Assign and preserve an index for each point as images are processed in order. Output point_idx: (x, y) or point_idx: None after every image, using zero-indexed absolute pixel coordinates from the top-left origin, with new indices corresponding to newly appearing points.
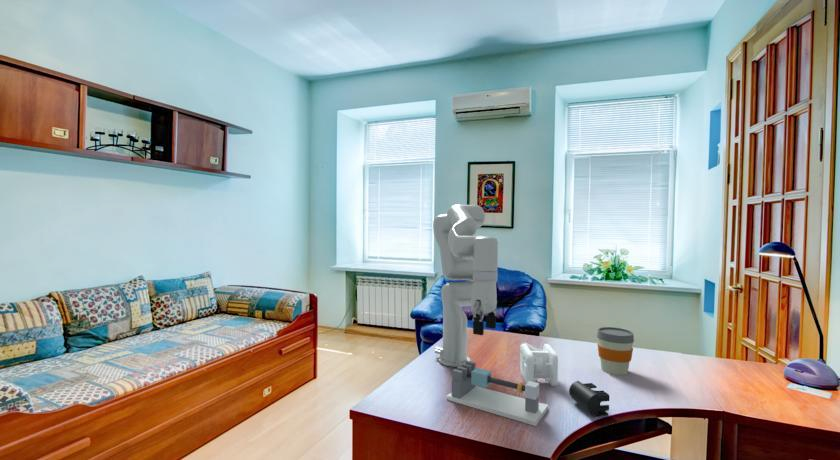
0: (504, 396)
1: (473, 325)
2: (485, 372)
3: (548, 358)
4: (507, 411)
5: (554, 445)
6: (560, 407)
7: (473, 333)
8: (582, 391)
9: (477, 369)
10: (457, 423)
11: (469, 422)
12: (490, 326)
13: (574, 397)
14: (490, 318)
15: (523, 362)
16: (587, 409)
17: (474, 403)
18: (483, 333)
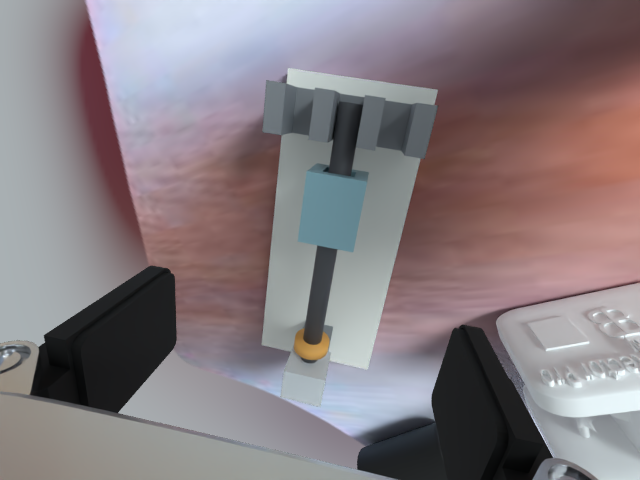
0: (372, 259)
1: (96, 305)
2: (324, 232)
3: (631, 442)
4: (277, 280)
5: (209, 370)
6: (391, 387)
7: (154, 267)
8: (394, 475)
9: (343, 190)
10: (172, 163)
11: (195, 192)
12: (443, 375)
13: (411, 436)
14: (465, 455)
15: (613, 334)
16: (365, 448)
17: (279, 183)
18: (164, 353)
